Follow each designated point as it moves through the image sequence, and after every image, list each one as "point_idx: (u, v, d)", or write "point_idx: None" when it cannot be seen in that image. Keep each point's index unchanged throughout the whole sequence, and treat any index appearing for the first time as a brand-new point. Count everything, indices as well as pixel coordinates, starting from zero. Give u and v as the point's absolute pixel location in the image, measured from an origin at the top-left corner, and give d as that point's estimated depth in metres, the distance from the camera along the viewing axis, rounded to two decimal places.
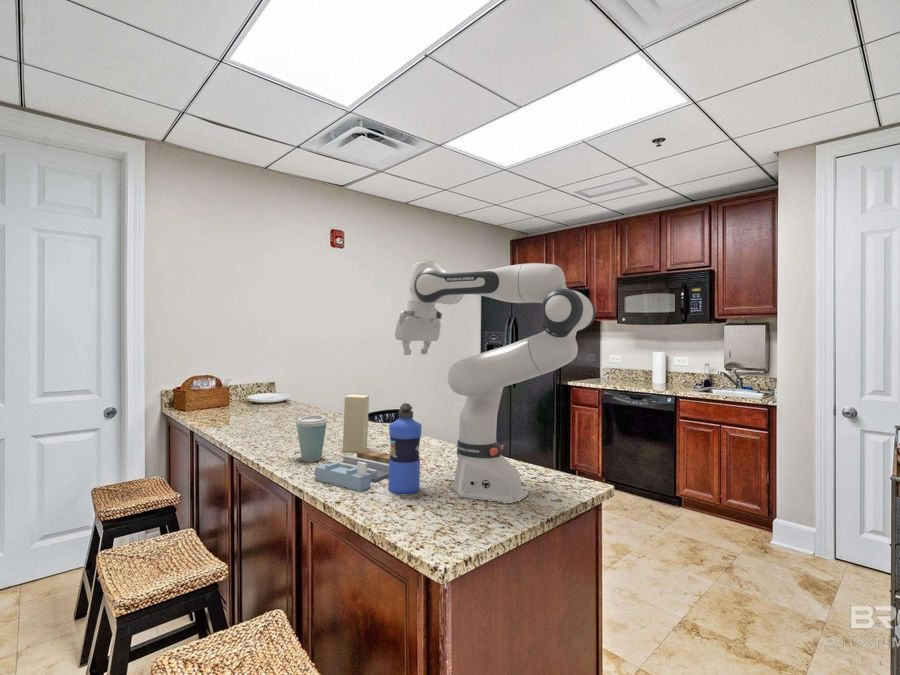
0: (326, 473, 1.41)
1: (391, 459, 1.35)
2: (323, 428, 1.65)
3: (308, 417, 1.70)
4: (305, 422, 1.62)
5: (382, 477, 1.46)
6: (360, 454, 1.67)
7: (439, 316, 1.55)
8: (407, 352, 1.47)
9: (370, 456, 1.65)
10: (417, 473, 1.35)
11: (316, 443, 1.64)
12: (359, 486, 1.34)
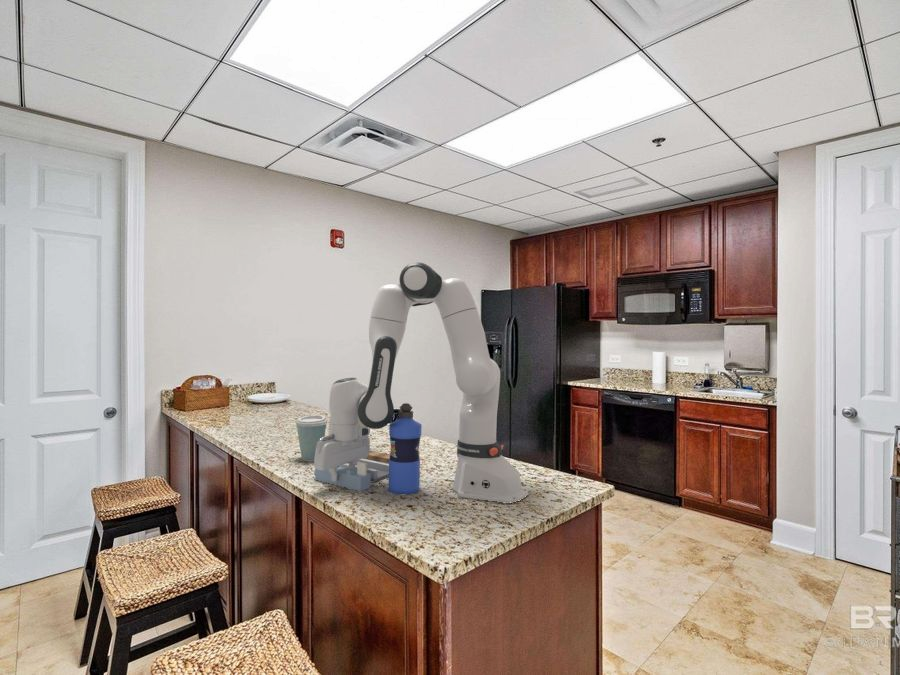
0: (326, 473, 1.41)
1: (391, 459, 1.35)
2: (323, 428, 1.65)
3: (308, 417, 1.70)
4: (305, 422, 1.62)
5: (382, 477, 1.46)
6: None
7: (366, 432, 1.45)
8: (335, 478, 1.37)
9: (370, 456, 1.65)
10: (417, 473, 1.35)
11: (316, 443, 1.64)
12: (359, 486, 1.34)
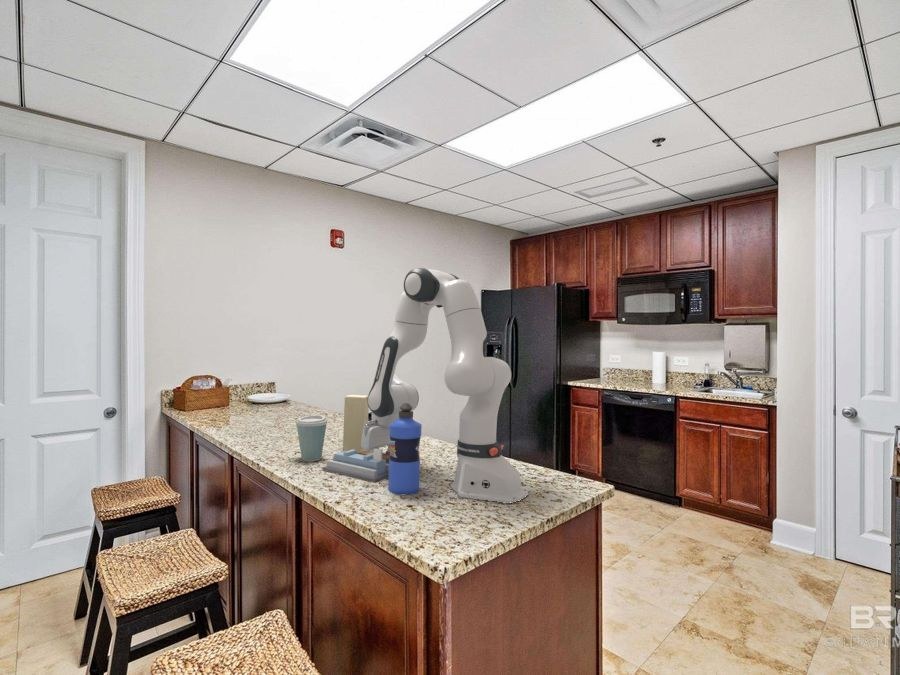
0: (344, 459, 1.54)
1: (391, 459, 1.35)
2: (323, 428, 1.65)
3: (308, 417, 1.70)
4: (305, 422, 1.62)
5: (382, 477, 1.46)
6: None
7: None
8: None
9: None
10: (417, 473, 1.35)
11: (316, 443, 1.64)
12: None
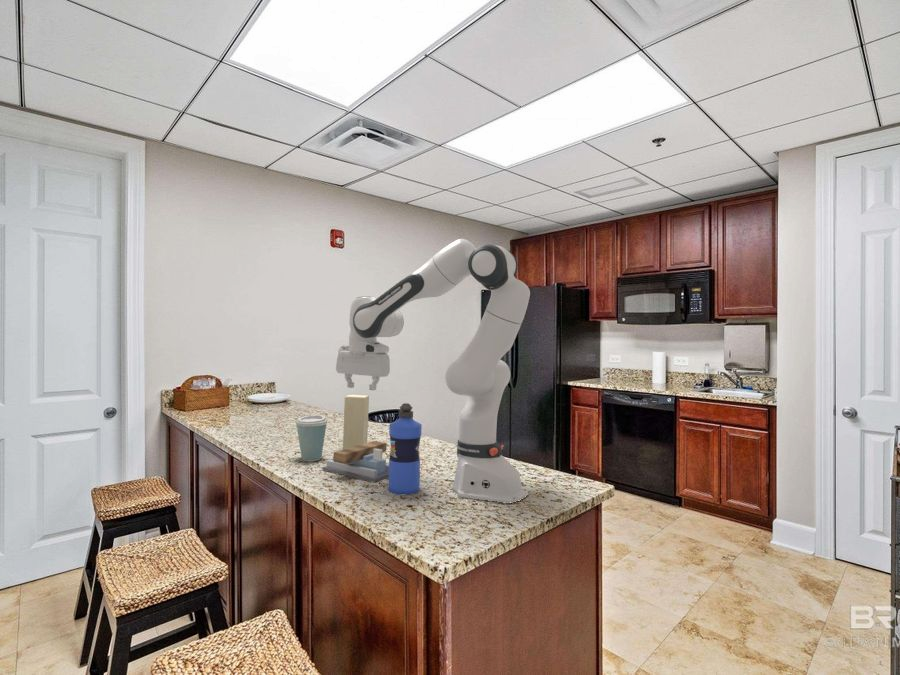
0: None
1: (391, 459, 1.35)
2: (323, 428, 1.65)
3: (308, 417, 1.70)
4: (305, 422, 1.62)
5: (382, 477, 1.46)
6: None
7: (371, 349, 1.47)
8: None
9: None
10: (417, 473, 1.35)
11: (316, 443, 1.64)
12: None
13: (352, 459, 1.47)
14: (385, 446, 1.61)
